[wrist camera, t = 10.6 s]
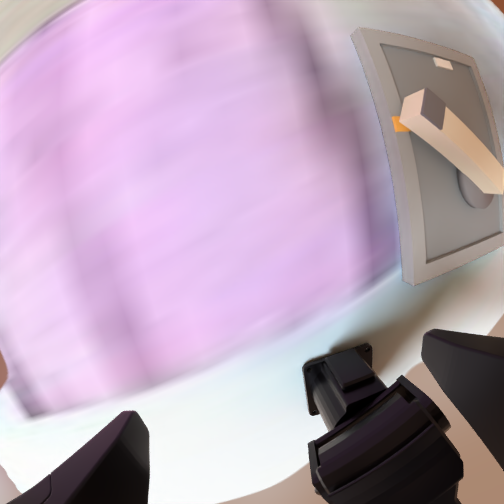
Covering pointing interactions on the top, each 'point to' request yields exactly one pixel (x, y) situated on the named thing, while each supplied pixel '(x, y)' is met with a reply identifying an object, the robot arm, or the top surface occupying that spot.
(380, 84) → the board
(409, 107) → the long cream stick
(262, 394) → the top surface
